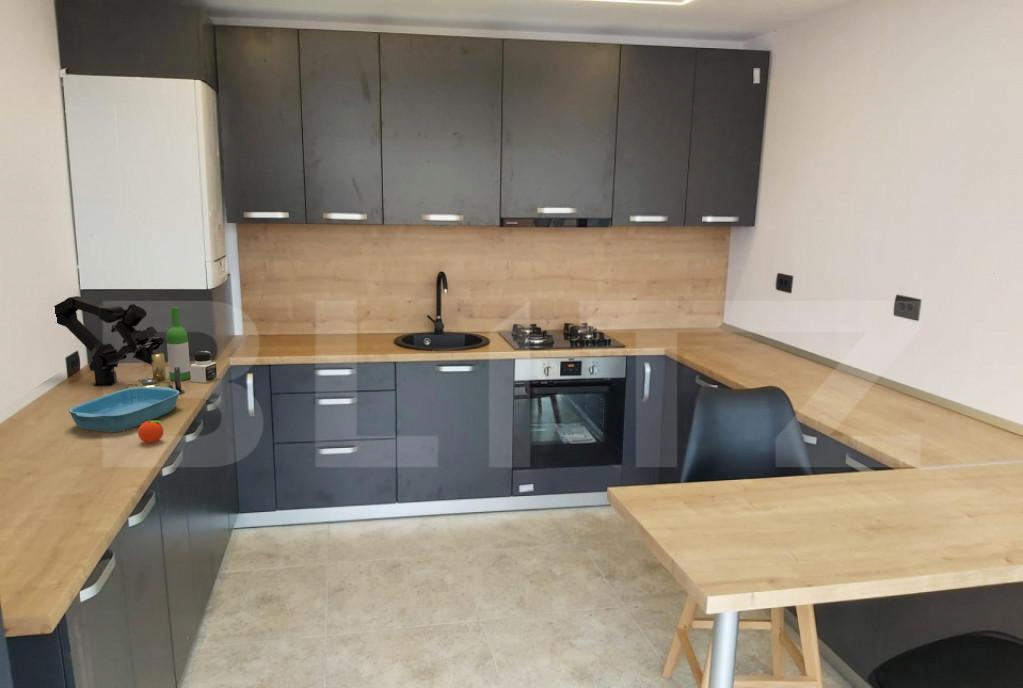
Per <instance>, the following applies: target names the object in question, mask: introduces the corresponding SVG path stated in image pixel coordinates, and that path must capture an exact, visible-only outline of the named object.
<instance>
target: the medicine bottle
mask: <svg viewBox="0 0 1023 688" xmlns="http://www.w3.org/2000/svg"><path fill="white" fill-rule="evenodd" d="M193 355H194V363H191V364H190V381H191V383H199V382H200V383H201V384H208V383H210V382H213V381H216V380H217V379H218V375H217V373H218V372H217V363H216V362H213V361H212V355H211V352H210V351H207V350H201V351H196V352H195V353H194V354H193Z"/></svg>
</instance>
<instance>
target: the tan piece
mask: <svg viewBox="0 0 1023 688" xmlns="http://www.w3.org/2000/svg"><path fill="white" fill-rule="evenodd" d="M151 361H152V365H151V371H152V377H147V378H144V377H143V378H142V377H141V378H138V379H137V380H135V381H132V382H127V388H134V387H168V388H170V387H171V385H172V380H171V379H170V380H169V379H168V378H167V375H166V365H165V364H166V363H165V354H164V353H163V352H153V354H151Z"/></svg>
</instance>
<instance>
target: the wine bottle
mask: <svg viewBox="0 0 1023 688" xmlns="http://www.w3.org/2000/svg"><path fill="white" fill-rule="evenodd" d="M170 312H171V314H170V315H171V327H170V328H169V329H168V330H167V332H166V347H167V350H166V351H167V361H168V373H169V379H170V380H171V381H174V382H175V375H174V368H175V367H180V377H181V382H182V381H185V380H188V379H191V371H190V365H191V364H190V352H189V351H190V350H189V339H188V331H187V330H186V329H185V328H184V327H183V326H181V318H180V317H181V315H180V314H181V313H180V307H179V306H170Z"/></svg>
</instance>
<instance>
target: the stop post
mask: <svg viewBox="0 0 1023 688" xmlns="http://www.w3.org/2000/svg"><path fill="white" fill-rule="evenodd" d="M174 375H175V381H174V384H175V385H174V387H175V388H174V390H178V391H179V395H182V394H181V393H183V394H185V390H183V389H182V381H181V377H180V367H175V368H174Z"/></svg>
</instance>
